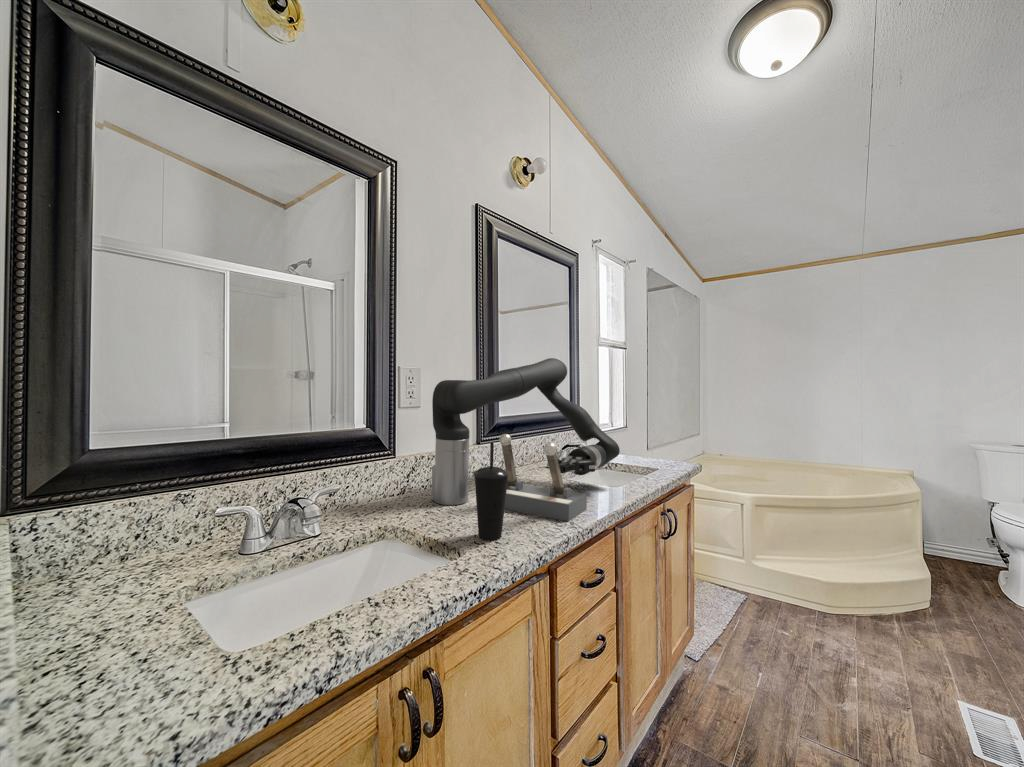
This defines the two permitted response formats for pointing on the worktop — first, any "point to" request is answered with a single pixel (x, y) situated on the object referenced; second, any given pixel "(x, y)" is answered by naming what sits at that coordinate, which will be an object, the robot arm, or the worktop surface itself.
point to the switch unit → (545, 501)
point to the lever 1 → (508, 458)
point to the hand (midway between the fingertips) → (560, 469)
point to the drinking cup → (490, 499)
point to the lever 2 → (554, 467)
